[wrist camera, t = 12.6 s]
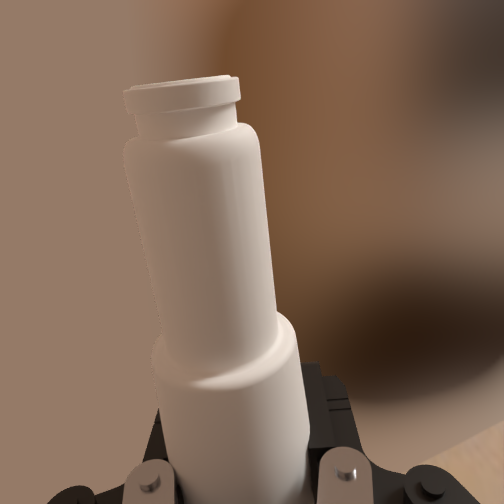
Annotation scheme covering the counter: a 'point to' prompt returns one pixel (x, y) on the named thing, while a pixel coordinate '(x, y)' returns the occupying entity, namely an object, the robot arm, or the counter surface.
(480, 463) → the counter surface
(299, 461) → the cosmetic bottle
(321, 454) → the robot arm
